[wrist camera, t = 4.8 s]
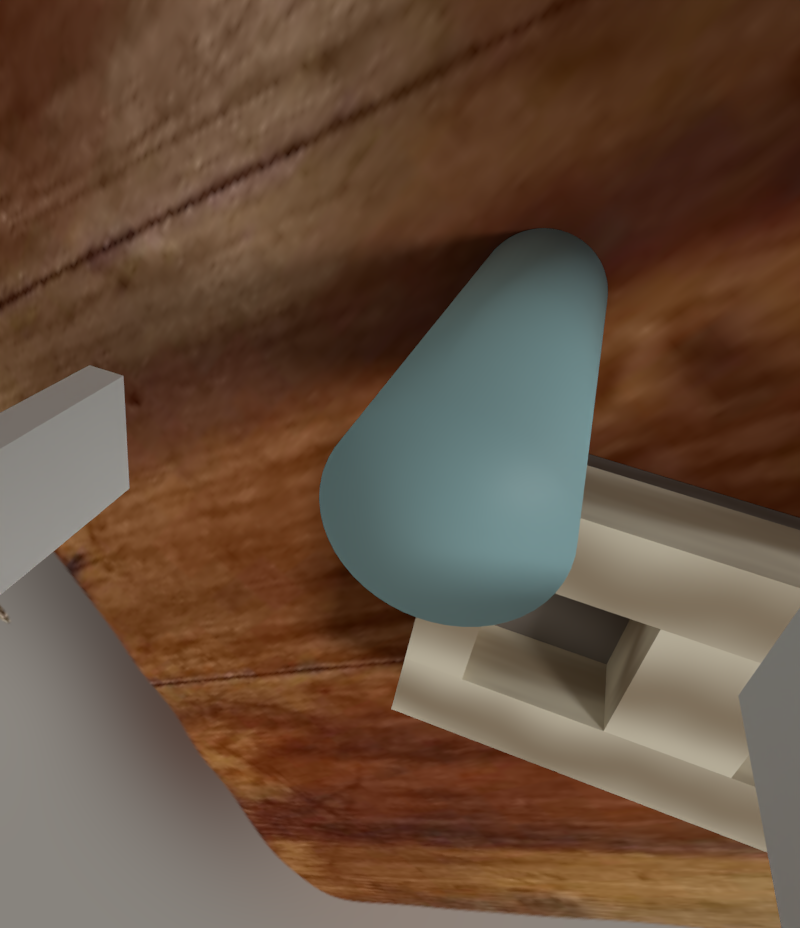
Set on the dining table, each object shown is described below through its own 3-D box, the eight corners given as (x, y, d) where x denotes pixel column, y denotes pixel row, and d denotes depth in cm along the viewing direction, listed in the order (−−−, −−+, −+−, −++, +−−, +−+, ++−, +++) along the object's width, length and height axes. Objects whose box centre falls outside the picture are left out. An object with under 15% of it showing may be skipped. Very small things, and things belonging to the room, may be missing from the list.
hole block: (478, 420, 29) (453, 477, 25) (1079, 602, 26) (1166, 705, 21) (418, 637, 37) (391, 708, 33) (874, 802, 33) (909, 906, 29)
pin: (494, 213, 25) (336, 370, 12) (627, 247, 24) (619, 455, 11) (464, 337, 28) (307, 578, 14) (582, 371, 27) (532, 658, 14)
